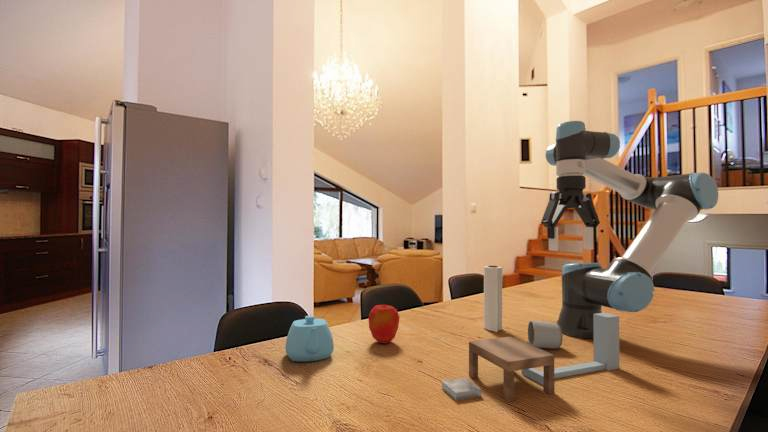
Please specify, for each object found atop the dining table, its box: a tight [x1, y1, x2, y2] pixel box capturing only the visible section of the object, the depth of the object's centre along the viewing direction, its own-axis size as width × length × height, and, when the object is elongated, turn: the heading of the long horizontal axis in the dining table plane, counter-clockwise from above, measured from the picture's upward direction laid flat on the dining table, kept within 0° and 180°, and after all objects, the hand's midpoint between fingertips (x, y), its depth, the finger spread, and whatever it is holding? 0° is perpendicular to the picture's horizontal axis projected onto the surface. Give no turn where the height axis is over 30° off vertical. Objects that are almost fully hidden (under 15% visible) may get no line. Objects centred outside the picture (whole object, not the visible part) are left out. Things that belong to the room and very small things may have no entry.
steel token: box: [441, 377, 482, 401], centre depth 80 cm, size 6×6×2 cm
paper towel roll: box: [483, 265, 503, 333], centre depth 129 cm, size 7×6×21 cm
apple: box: [367, 304, 400, 344], centre depth 114 cm, size 9×9×12 cm
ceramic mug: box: [527, 319, 564, 350], centre depth 112 cm, size 11×8×8 cm
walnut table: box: [468, 336, 555, 403], centre depth 85 cm, size 12×14×8 cm
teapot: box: [285, 314, 334, 362], centre depth 101 cm, size 13×11×18 cm
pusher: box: [521, 312, 620, 387], centre depth 92 cm, size 26×7×13 cm, turn 111°
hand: (571, 249), depth 108 cm, fingers open, 13 cm apart
